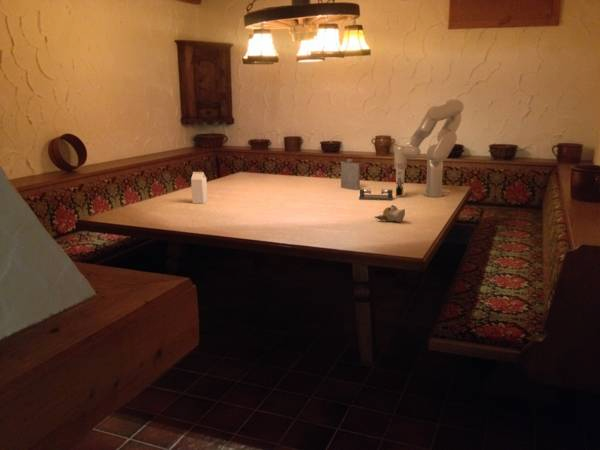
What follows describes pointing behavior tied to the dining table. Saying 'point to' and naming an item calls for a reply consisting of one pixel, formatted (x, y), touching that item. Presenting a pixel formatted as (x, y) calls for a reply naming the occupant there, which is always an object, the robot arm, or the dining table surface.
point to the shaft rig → (375, 197)
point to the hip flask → (350, 175)
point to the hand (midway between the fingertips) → (399, 193)
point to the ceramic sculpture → (392, 214)
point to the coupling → (402, 192)
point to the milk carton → (199, 187)
